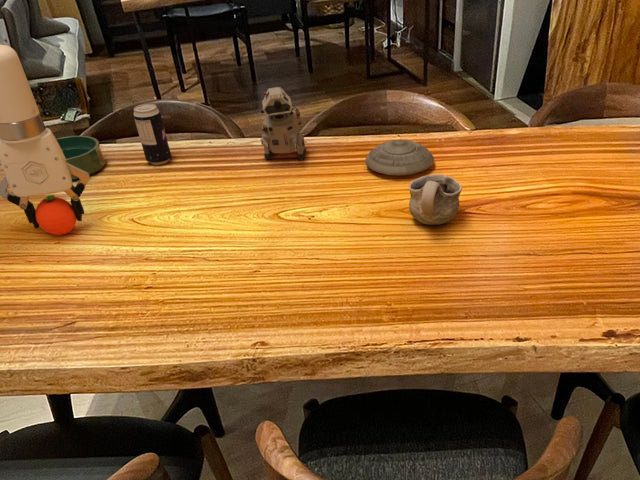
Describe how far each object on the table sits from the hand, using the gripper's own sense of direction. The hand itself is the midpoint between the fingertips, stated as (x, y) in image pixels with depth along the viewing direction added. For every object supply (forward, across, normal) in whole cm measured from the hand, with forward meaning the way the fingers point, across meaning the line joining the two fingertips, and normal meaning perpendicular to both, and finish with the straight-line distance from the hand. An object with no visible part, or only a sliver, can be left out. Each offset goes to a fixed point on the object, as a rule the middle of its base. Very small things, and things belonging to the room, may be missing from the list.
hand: (58, 220), depth 118 cm
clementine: (+2, 0, 0) cm, 2 cm away
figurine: (+2, +47, +16) cm, 50 cm away
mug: (+2, +67, -24) cm, 71 cm away
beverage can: (+2, +20, +27) cm, 34 cm away
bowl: (+2, +1, +30) cm, 30 cm away
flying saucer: (+2, +70, +3) cm, 70 cm away
